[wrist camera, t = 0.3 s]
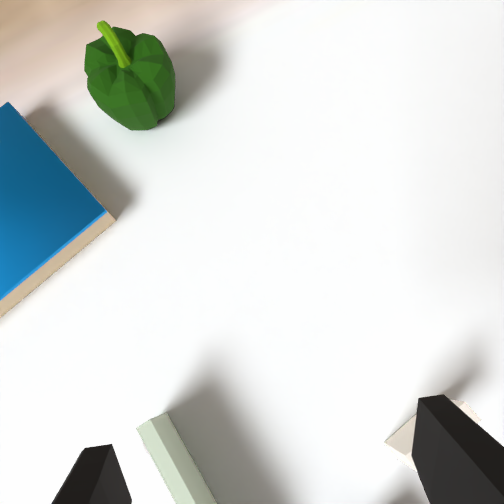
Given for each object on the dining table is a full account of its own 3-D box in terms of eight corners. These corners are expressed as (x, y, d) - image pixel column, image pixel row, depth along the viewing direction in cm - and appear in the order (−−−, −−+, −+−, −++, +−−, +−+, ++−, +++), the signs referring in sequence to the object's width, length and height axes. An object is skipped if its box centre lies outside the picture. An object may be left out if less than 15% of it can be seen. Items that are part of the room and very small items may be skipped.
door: (250, 564, 34) (247, 599, 29) (230, 578, 34) (223, 616, 29) (166, 412, 38) (150, 419, 32) (147, 425, 37) (128, 433, 32)
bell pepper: (190, 133, 45) (170, 68, 36) (115, 150, 45) (73, 90, 36) (176, 68, 48) (153, -8, 38) (104, 84, 48) (62, 12, 38)
